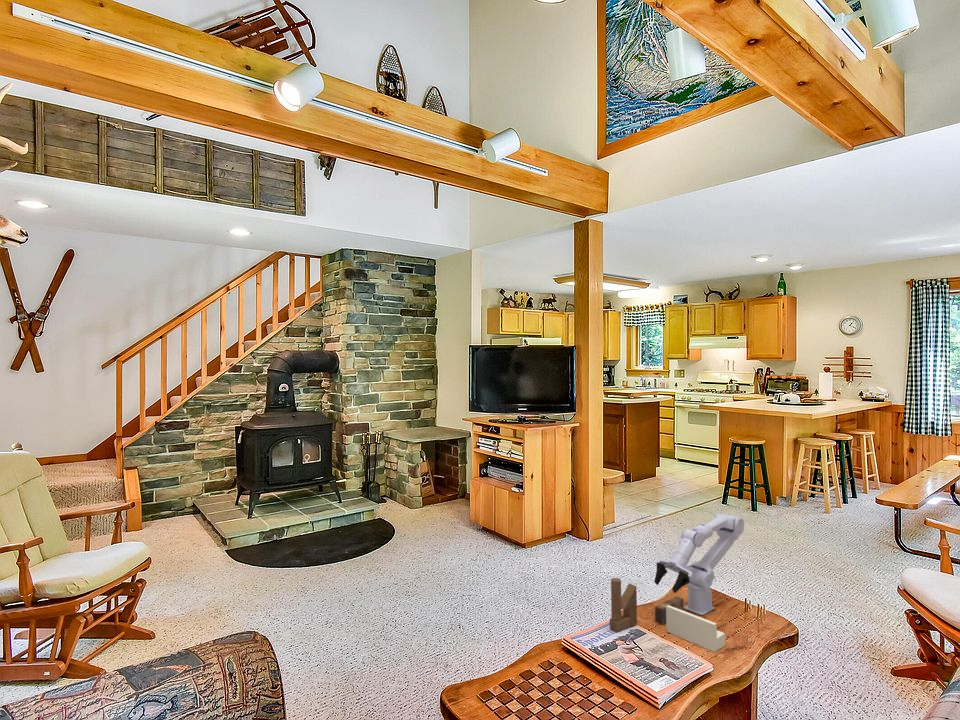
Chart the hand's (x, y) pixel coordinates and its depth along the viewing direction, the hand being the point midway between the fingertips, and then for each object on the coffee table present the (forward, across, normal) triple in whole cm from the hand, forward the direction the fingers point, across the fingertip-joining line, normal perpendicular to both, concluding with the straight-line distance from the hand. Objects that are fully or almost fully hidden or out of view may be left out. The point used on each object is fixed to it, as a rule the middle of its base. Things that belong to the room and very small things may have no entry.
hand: (664, 587), depth 196 cm
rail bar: (+6, 0, +13) cm, 14 cm away
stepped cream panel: (+9, +14, +8) cm, 19 cm away
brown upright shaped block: (+20, -7, +1) cm, 21 cm away
